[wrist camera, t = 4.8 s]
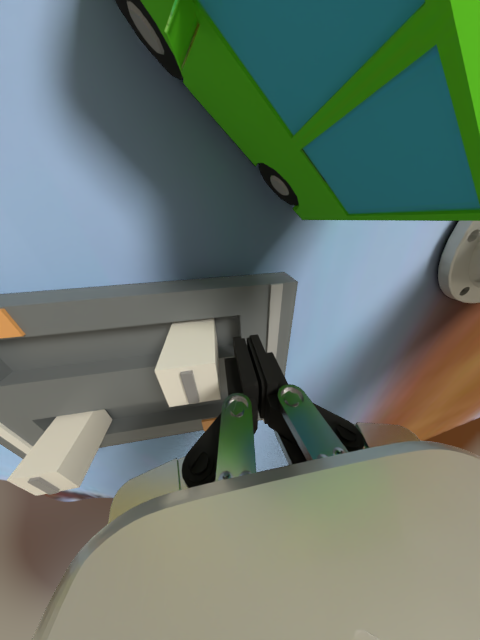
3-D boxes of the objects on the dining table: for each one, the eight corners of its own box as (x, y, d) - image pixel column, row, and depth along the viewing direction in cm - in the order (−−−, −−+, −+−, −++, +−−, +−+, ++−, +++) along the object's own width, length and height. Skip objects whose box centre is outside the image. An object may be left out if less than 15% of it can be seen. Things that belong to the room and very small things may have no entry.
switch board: (284, 272, 14) (299, 282, 11) (272, 397, 22) (279, 418, 20) (-109, 302, 11) (-194, 324, 9) (46, 433, 19) (23, 462, 17)
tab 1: (99, 401, 16) (54, 475, 11) (112, 419, 18) (77, 490, 13) (64, 406, 16) (3, 484, 11) (80, 424, 17) (33, 499, 13)
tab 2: (213, 314, 13) (215, 365, 9) (217, 345, 15) (220, 402, 10) (173, 318, 13) (152, 373, 8) (182, 349, 14) (168, 410, 10)
